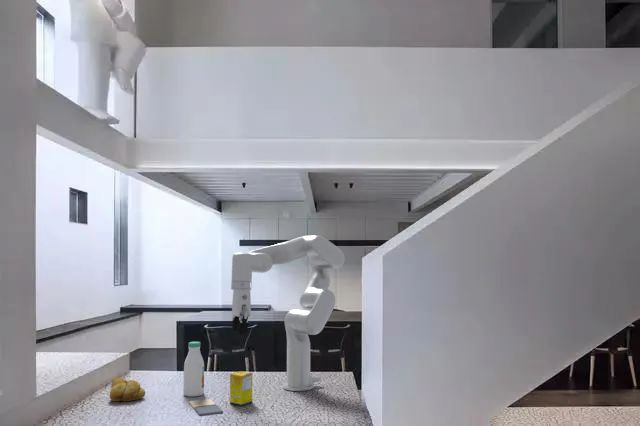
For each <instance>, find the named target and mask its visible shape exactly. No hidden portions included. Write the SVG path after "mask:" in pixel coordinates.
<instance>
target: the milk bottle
mask: <svg viewBox="0 0 640 426" xmlns="http://www.w3.org/2000/svg"><path fill="white" fill-rule="evenodd" d="M201 344H202V343H201V341H190V342H188V344H187V345H188V352H187V356H185V357H186V358H185V359H184V360H185V361H184V365H183V396H185V397H192V398H193V397H199V396H200V397H201V396H202V395H204V394H205V393H204V391H205V362H204V358H203V356H202V354H201V350H200V349H201Z"/></svg>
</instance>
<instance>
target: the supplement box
mask: <svg viewBox="0 0 640 426" xmlns="http://www.w3.org/2000/svg"><path fill="white" fill-rule="evenodd" d="M229 378H230V379H229V383H230V384H229V405H232V406H237V407H244V406H247V405H249V404H253V372H249V371H243V370H240V371H237V372H232V373H230V374H229Z"/></svg>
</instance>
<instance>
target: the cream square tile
mask: <svg viewBox="0 0 640 426" xmlns="http://www.w3.org/2000/svg"><path fill="white" fill-rule="evenodd" d="M188 403H189V405H190V406H191V407H192V408H193V409H195V408H197V407H206V406H214V405H217V404H216V402H215V401H214V400H212V399H211V398H205V399H198V400H197V399H196V400H189V401H188Z"/></svg>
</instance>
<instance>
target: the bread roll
mask: <svg viewBox="0 0 640 426" xmlns="http://www.w3.org/2000/svg"><path fill="white" fill-rule="evenodd" d="M145 396H146V391H145V389H144V388H143V387H141V383H139V382H138V381H137V380H133V379H132V380H126V379H125V378H123V377H121V376H116V377H114V378H113V379H112V381H111V389H110V391H109V399H110V400H111V401H112V402H120V401H122V402H131V401H134V400H140V399H143V398H144V397H145Z"/></svg>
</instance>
